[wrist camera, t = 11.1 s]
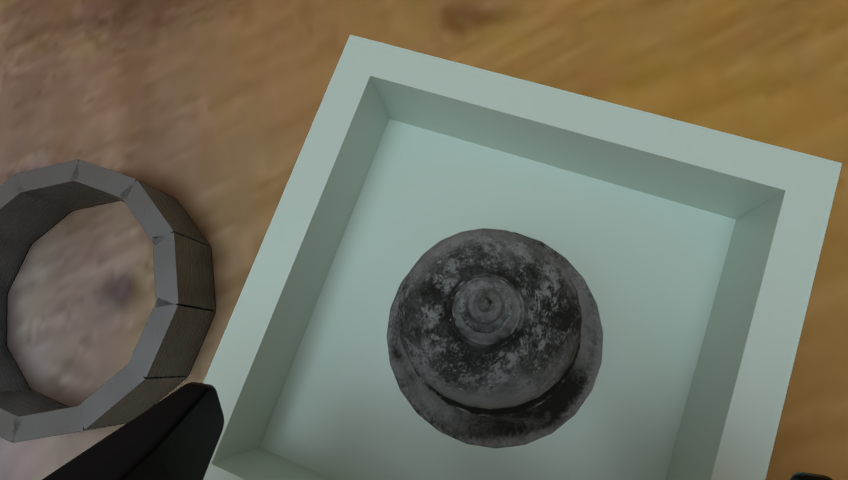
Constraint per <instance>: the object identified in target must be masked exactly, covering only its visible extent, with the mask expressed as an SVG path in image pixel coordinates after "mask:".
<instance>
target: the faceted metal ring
mask: <svg viewBox="0 0 848 480" xmlns="http://www.w3.org/2000/svg"><path fill="white" fill-rule="evenodd" d="M119 200H121V201H123V202H125V203H126V204H127V206H128V207H129V208H130V210H131V211H132V213H133V214H134V216H135V217H136V219H137V220H138V221H139V223H140V224H141V226H142V227H143V229H144V230H145V231H146V233H147V234H148V236H149V237H150V239H151V240H152V242H153V257H154V276H155V296H156V303H155V306H154V308H153V310H152V312H151V315H150V317H149V319H148V321H147V323H146V326H145V328H144V330H143V332H142V335H141V337H140V339H139V341H138V344H137V346H136V348H135V350H134V353H133V355H132V357H131V359H130V361H129V364H127V365H126V366H125V367H124V368H123V369H121V370H120V371H119V372H118V373H117V374H115V375H114V376H113V377H112V378H111V379H110V380H108V381H107V382H106V383H105V384H104V385H102V386H101V387H100V388H99V389H98V390H96V391H95V392H94V393H93V394H92V395H90V396H89V397H88V398H87V399H86V400H84V401H83V402H82V403H81V404H80V405H78V406H76V407H70V408H69V407H67V406H65V405H63V404H60V403H58V402H56V401H54V400H52V399H50V398H47V397H45V396H43V395H41V394H39V393H37V392H35V391H32V390H30V388H29V386H28V384H27V383H26V381H25V379H24V377H23V376H22V374H21V372H20V370H19V369H18V367H17V365H16V363H15V361H14V360H13V358H12V356H11V354H10V353H9V351H8V349H7V347H6V306H7V292H8V290H9V288H10V286H11V284H12V281H13V279H14V277H15V275H16V273H17V271H18V269H19V267H20V265H21V263H22V261H23V259H24V257H25V255H26V253H27V251H28V249H29V247H30V245H31V244H32V243H33V242H34V241H36V240H37V239H38V238H39V237H40V236H42V235H43V234H44V233H45V232H47V231H48V230H49V229H50V228H51V227H53V226H54V225H55V224H56V223H58V222H59V221H60V220H61V219H62V218H64V217H65V216H66V215H67V214H69V213H70V212H71V211H73V210H77V209H82V208H87V207H91V206H96V205H101V204H105V203H110V202H114V201H119ZM209 246H210V245H209V243H208V242H207V240H206V239H205V238H204V236H203V235H202V234H201V232H200V231H199V229H198V228H197V227H196V225H195V224H194V223H193V221H192V220H191V218H190V217H189V216H188V214H187V213H186V212H185V210H184V209H183V208H182V206H181V205H180V203H179V202H178V201H177V200H176V199H174V198H172V197H170V196H168V195H166V194H165V193H163V192H161V191H159V190H157V189H155V188H153V187H151V186H149V185H147V184H145V183H143V182H141V181H139V180H137V179H134V178H131V177H128V176H126V175H123V174H120V173H117V172H114V171H111V170H108V169H106V168H103V167H100V166H97V165H94V164H91V163H88V162H86V161H83V160H73V161H69V162H64V163H60V164H55V165H51V166H47V167H42V168H38V169H33V170H29V171H24V172H20V173H16V174H14V175H13V176H12V177H11V178H9V179H8V180H7V181H6V182H4V183H3V184H2V185H1V186H0V437H1V438H3V439H5V440H7V441H10V442H13V443H15V442H21V441H27V440H33V439H39V438H45V437H51V436H56V435H62V434H68V433H74V432H80V431H85V430H91V429H97V428H102V427H108V426H114V425H119V424H125V423H128V422H130V421H131V420H133V419H134V418H136V417H137V416H139V415H140V414H142V413H143V412H145V411H146V410H148V409H149V408H151V407H152V406H153V405H155V404H156V403H157V402H158V401H159V400H161V399H162V398H163V397H164V396H165V395H166V394H168V393H169V392H170V391H171V390H172V389H174V388H175V387H176V386H177V385H178V384H180V383H181V382H182V381H183V380H184V379H185V378H187V376H188V375H189V373H190V370H191V368H192V366H193V363H194V361H195V359H196V356H197V354H198V352H199V349H200V347H201V345H202V342H203V340H204V338H205V335H206V333H207V331H208V328H209V326H210V324H211V321H212V319H213V317H214V314H215V312H214V310H216V307H215V294H214V281H213V268H212V256H211V247H209Z"/></svg>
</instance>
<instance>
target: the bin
mask: <svg viewBox="0 0 848 480" xmlns="http://www.w3.org/2000/svg"><path fill="white" fill-rule="evenodd" d="M841 166H842V163H839V162H835V161H831V160H827V159H824V158H820V157H816V156H812V155H808V154H804V153H801V152H797V151H793V150H789V149H785V148H782V147H778V146H774V145H770V144H766V143H762V142H759V141H755V140H751V139H747V138H743V137H739V136H736V135H732V134H728V133H724V132H720V131H717V130H713V129H709V128H705V127H701V126H697V125H694V124H690V123H686V122H682V121H678V120H675V119H671V118H667V117H663V116H659V115H655V114H652V113H648V112H644V111H640V110H636V109H633V108H629V107H625V106H621V105H617V104H613V103H610V102H606V101H602V100H598V99H594V98H590V97H587V96H583V95H579V94H575V93H571V92H568V91H564V90H560V89H556V88H552V87H548V86H545V85H541V84H537V83H533V82H529V81H526V80H522V79H518V78H514V77H510V76H506V75H503V74H499V73H495V72H491V71H487V70H484V69H480V68H476V67H472V66H468V65H464V64H461V63H457V62H453V61H449V60H445V59H441V58H438V57H434V56H430V55H426V54H422V53H419V52H415V51H411V50H407V49H403V48H399V47H396V46H392V45H388V44H384V43H380V42H377V41H373V40H369V39H365V38H361V37H357V36H354V35H350V36H349V39H348V41H347V43H346V46H345V48H344V50H343V53H342V55H341V58H340V60H339V62H338V65H337V67H336V69H335V72H334V74H333V76H332V79H331V81H330V84H329V86H328V88H327V91H326V93H325V95H324V98H323V100H322V103H321V105H320V107H319V110H318V112H317V114H316V117H315V119H314V121H313V124H312V126H311V129H310V131H309V133H308V136H307V138H306V140H305V143H304V145H303V148H302V150H301V152H300V155H299V157H298V159H297V162H296V164H295V167H294V169H293V171H292V174H291V176H290V178H289V181H288V183H287V185H286V188H285V190H284V193H283V195H282V197H281V200H280V202H279V204H278V207H277V209H276V212H275V214H274V216H273V219H272V221H271V223H270V226H269V228H268V231H267V233H266V235H265V238H264V240H263V242H262V245H261V247H260V249H259V252H258V254H257V257H256V259H255V261H254V264H253V266H252V268H251V271H250V273H249V276H248V278H247V280H246V283H245V285H244V287H243V290H242V292H241V294H240V297H239V299H238V302H237V304H236V306H235V309H234V311H233V313H232V316H231V318H230V321H229V323H228V325H227V328H226V330H225V332H224V335H223V337H222V340H221V342H220V344H219V347H218V349H217V351H216V354H215V356H214V358H213V361H212V363H211V366H210V368H209V370H208V373H207V375H206V377H205V380H204V382H203V383H204V384H210V385H213V386H214V387H215V388H216V391H217V394H218V397H219V401H220V404H221V408H222V411H223V415H224V427H223V430H222V433H221V436H220V438H219V441H218V443H217V446H216V448H215V451H214V453H213V456H212V459H211V461H210V464H209V466H208V469H207V471H206V474H205V476H204V479H203V480H765V479H766V475H767V471H768V467H769V463H770V458H771V454H772V450H773V446H774V442H775V438H776V434H777V430H778V425H779V421H780V417H781V413H782V409H783V405H784V401H785V397H786V392H787V388H788V384H789V380H790V376H791V372H792V368H793V364H794V359H795V355H796V351H797V347H798V343H799V339H800V335H801V331H802V326H803V322H804V318H805V314H806V310H807V306H808V302H809V298H810V293H811V289H812V285H813V281H814V277H815V273H816V269H817V265H818V260H819V256H820V252H821V248H822V244H823V240H824V236H825V232H826V227H827V223H828V219H829V215H830V211H831V207H832V203H833V199H834V194H835V190H836V186H837V182H838V178H839V174H840V170H841ZM482 228H487V229H498V230H507V231H510V232H516V233H519V234H522V235H524V236H527V237H530V238H533V239H536V240H538V241H541V242H543V243H545V244H546V245H547V246H549V247H550V248H552V249H553V250H555V251H556V252H558V253H559V254H561V255H562V256H564V257H565V258H566V259H567V260H568V261H569V262H570V263H571V265H572V266H573V267H574V268H575V269H576V270H577V271H578V272H579V274H580V275H581V276H582V277H583V278H584V280H585V281H586V283H587V285H588V287H589V289H590V291H591V293H592V295H593V297H594V299H595V301H596V303H597V306H598V311H599V315H600V320H601V325H602V330H603V347H602V363H601V366H600V369H599V372H598V374H597V377H596V380H595V383H594V386H593V389H592V391H591V393H590V394H589V396H588V397H587V398H586V400H585V401H584V403H583V404H582V406H581V407H580V409H579V410H578V411H577V413H576V414H575V415H574V416H573V417H572V418H571V419H569V420H568V421H567V422H566V423H564V424H563V425H562V426H561V427H560V428H558V429H557V430H556V431H555V432H553V433H552V434H550V435H547V436H545V437H543V438H540V439H538V440H535V441H533V442H531V443H528V444H526V445H520V446H512V447H504V448H489V447H483V446H476V445H469V444H465V443H463V442H461V441H459V440H456V439H454V438H452V437H450V436H447V435H445V434H443V433H441V432H439V431H438V430H437V429H435V428H434V427H433V426H432V425H431V424H429V423H428V422H427V421H426V420H424V419H423V418H422V417H421V416H419V415H418V414H417V413H416V411H415V410H414V409H413V407H412V406H411V404H410V403H409V402H408V400H407V399H406V398H405V396H404V395H403V393H402V392H401V391H400V388H399V386H398V383H397V381H396V378H395V376H394V373H393V371H392V368H391V365H390V361H389V353H388V344H387V329H388V321H389V314H390V308H391V305H392V303H393V301H394V298H395V296H396V293H397V291H398V288H399V286H400V283H401V282H402V281H403V279H404V278H405V277H406V275H407V274H408V273H409V271H410V270H411V269H412V267H413V266H414V265H415V263H416V262H417V261H418V260H419V258H420V257H421V256H422V255H423V254H424V253H425V252H426V251H428V250H429V249H430V248H432V247H433V246H434V245H435V244H437V243H438V242H439V241H441V240H443V239H445V238H448V237H450V236H452V235H455V234H457V233H459V232H463V231H469V230H476V229H482Z"/></svg>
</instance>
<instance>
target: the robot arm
mask: <svg viewBox="0 0 848 480" xmlns="http://www.w3.org/2000/svg"><path fill="white" fill-rule="evenodd" d="M223 427H224V415H223V411H222V408H221V404H220V401H219V397H218V394H217V391H216V388H215V387H214V386H213V385H210V384H204V383H197V382H191V383H188V384H186V385H184V386H182V387H181V388H179V389H178V390H176V391H175V392H173V393H172V394H170V395H169V396H167V397H166V398H164V399H163V400H161V401H160V402H158V403H157V404H155V405H154V406H152V407H151V408H149V409H148V410H146V411H145V412H143V413H142V414H140V415H139V416H137V417H136V418H134V419H133V420H131V421H130V422H128V423H127V424H125V425H124V426H122V427H121V428H119V429H118V430H116V431H115V432H113V433H112V434H110V435H109V436H107V437H106V438H104V439H103V440H101V441H100V442H98V443H97V444H95V445H94V446H92V447H91V448H89V449H88V450H86V451H85V452H83V453H81V454H80V455H78V456H77V457H75V458H74V459H72V460H71V461H69V462H68V463H66V464H65V465H63V466H62V467H60V468H59V469H57V470H56V471H54V472H53V473H51V474H50V475H48V476H47V477H45V478H44V479H42V480H203V479H204V476H205V474H206V471H207V469H208V466H209V464H210V461H211V459H212V456H213V453H214V451H215V448H216V446H217V443H218V441H219V438H220V436H221V433H222V430H223ZM790 480H832V479H831V478H829V477H827V476H824V475H819V474H812V473H805V472H797V473H795V474H793V476H792V477H791V479H790Z"/></svg>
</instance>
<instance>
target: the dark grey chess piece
mask: <svg viewBox="0 0 848 480" xmlns="http://www.w3.org/2000/svg"><path fill="white" fill-rule="evenodd" d="M387 344H388V353H389V361H390V365H391V368H392V371H393V373H394V376H395V378H396V381H397V383H398V386H399V388H400V391H401V392H402V393H403V395H404V396H405V398H406V399H407V400H408V402H409V403H410V404H411V406H412V407H413V409H414V410H415V411H416V413H417V414H418V415H419V416H421V417H422V418H423V419H424V420H426V421H427V422H428V423H429V424H431V425H432V426H433V427H434V428H435V429H437V430H438V431H439V432H441V433H443V434H445V435H447V436H450V437H452V438H454V439H456V440H459V441H461V442H463V443H465V444H469V445H476V446H483V447H489V448H504V447H512V446H520V445H526V444H528V443H531V442H533V441H535V440H538V439H540V438H543V437H545V436H547V435H550V434H552V433H553V432H555V431H556V430H557V429H558V428H560V427H561V426H562V425H563V424H564V423H566V422H567V421H568V420H569V419H571V418H572V417H573V416H574V415H575V414H576V413H577V411H578V410H579V409H580V407H581V406H582V404H583V403H584V401H585V400H586V398H587V397H588V396H589V394H590V393H591V391H592V389H593V386H594V383H595V380H596V377H597V374H598V372H599V369H600V366H601V363H602V347H603V330H602V325H601V320H600V315H599V311H598V306H597V303H596V301H595V299H594V297H593V295H592V293H591V291H590V289H589V287H588V285H587V283H586V281H585V280H584V278H583V277H582V276H581V275H580V274H579V272H578V271H577V270H576V269H575V268H574V267H573V266H572V265H571V263H570V262H569V261H568V260H567V259H566V258H565V257H564V256H562V255H561V254H559V253H558V252H556V251H555V250H553V249H552V248H550V247H549V246H547V245H546V244H545V243H543V242H541V241H538V240H536V239H533V238H530V237H527V236H524V235H522V234H519V233H516V232H510V231H507V230H498V229H487V228H482V229H476V230H469V231H463V232H459V233H457V234H455V235H452V236H450V237H448V238H445V239H443V240H441V241H439V242H438V243H437V244H435V245H434V246H433V247H432V248H430V249H429V250H428V251H426V252H425V253H424V254H423V255H422V256H421V257H420V258H419V260H418V261H417V262H416V263H415V265H414V266H413V267H412V269H411V270H410V271H409V273H408V274H407V275H406V277H405V278H404V279H403V281H402V282H401V283H400V286H399V288H398V291H397V293H396V296H395V298H394V301H393V303H392V305H391V308H390V314H389V321H388V329H387Z"/></svg>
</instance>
